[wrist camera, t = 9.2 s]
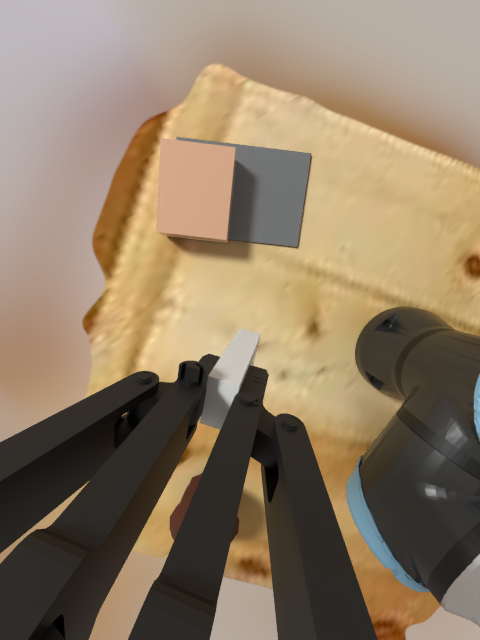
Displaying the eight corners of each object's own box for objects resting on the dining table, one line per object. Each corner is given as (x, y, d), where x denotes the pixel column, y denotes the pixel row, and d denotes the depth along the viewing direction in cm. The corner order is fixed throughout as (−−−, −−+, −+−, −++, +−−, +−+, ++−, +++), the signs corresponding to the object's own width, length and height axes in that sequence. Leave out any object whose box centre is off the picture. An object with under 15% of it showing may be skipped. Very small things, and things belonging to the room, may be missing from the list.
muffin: (234, 462, 48) (233, 511, 38) (243, 511, 50) (244, 569, 40) (173, 471, 49) (155, 521, 39) (184, 519, 51) (171, 578, 41)
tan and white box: (226, 239, 36) (235, 147, 34) (156, 231, 36) (160, 138, 34) (227, 242, 40) (235, 160, 38) (164, 235, 40) (169, 151, 38)
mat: (296, 247, 41) (297, 246, 40) (171, 232, 40) (171, 232, 40) (310, 154, 38) (311, 153, 38) (177, 138, 38) (176, 137, 38)
